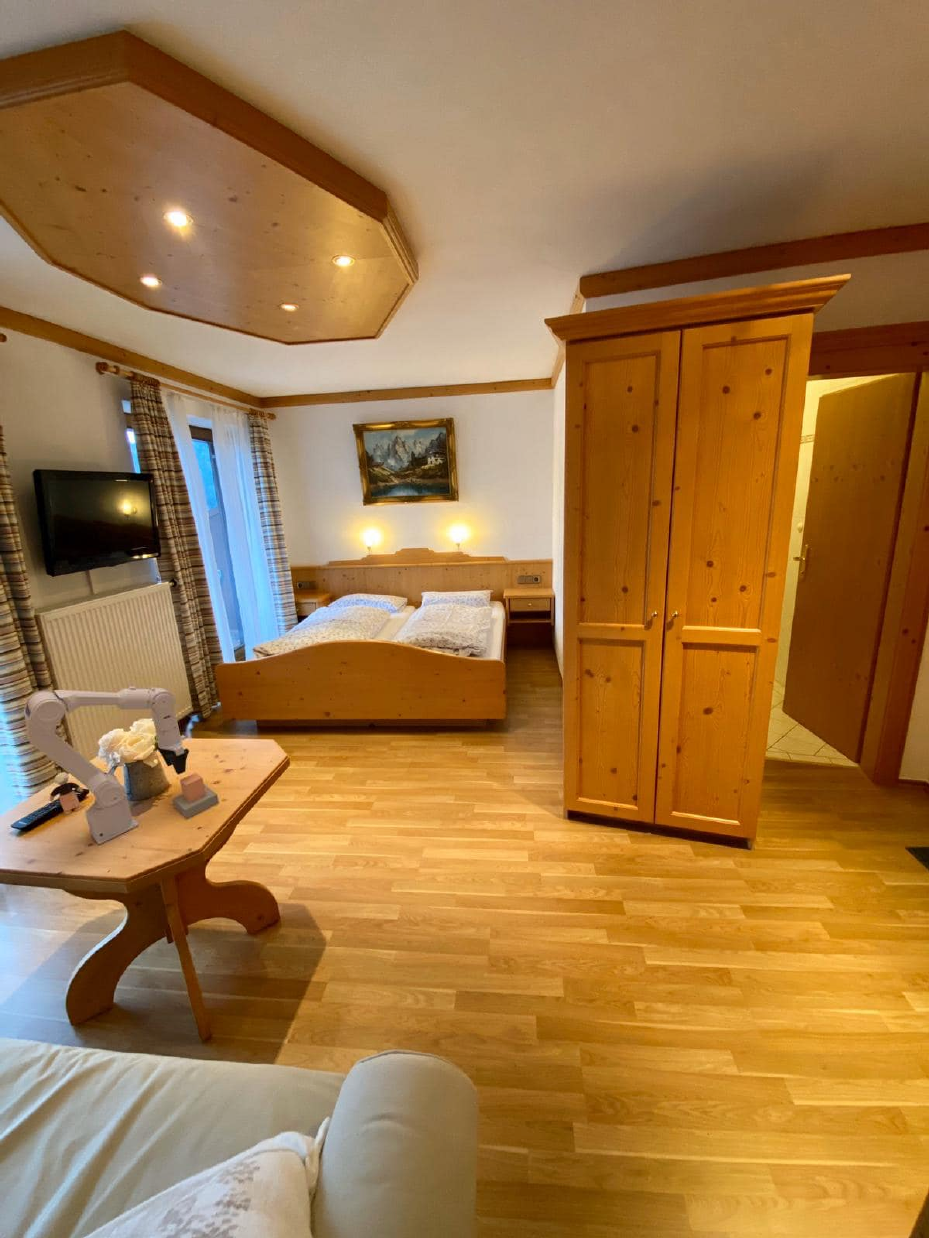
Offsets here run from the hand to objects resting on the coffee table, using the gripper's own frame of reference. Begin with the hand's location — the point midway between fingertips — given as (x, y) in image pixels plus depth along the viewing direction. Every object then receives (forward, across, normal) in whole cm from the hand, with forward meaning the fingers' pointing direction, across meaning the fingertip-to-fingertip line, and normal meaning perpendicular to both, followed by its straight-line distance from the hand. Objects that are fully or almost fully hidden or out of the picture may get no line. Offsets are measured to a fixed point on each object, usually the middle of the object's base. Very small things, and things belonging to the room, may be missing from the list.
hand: (176, 768), depth 143 cm
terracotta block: (+7, -7, -1) cm, 10 cm away
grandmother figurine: (+11, +22, +23) cm, 34 cm away
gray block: (+10, -7, -1) cm, 13 cm away
